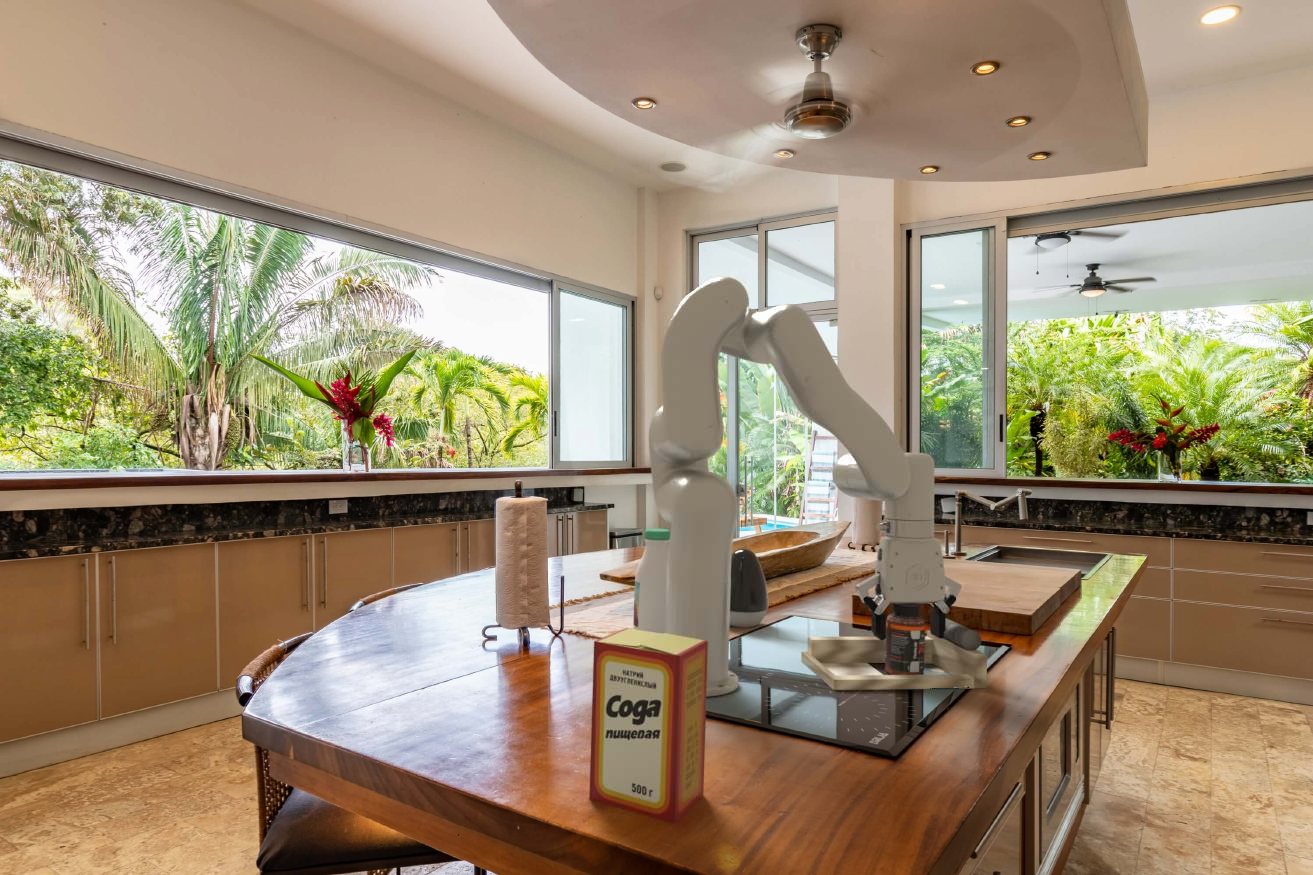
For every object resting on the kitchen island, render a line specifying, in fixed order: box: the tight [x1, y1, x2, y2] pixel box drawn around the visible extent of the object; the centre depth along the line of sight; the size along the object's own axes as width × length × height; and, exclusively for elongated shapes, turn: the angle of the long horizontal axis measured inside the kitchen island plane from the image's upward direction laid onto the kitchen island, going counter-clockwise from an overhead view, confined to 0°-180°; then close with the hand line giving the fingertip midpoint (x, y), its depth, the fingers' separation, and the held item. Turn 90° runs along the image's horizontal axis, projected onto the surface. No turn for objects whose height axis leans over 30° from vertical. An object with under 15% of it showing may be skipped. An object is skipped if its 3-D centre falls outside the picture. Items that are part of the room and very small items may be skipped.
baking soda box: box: [588, 627, 708, 824], centre depth 76 cm, size 10×6×16 cm
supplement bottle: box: [884, 603, 926, 675], centre depth 121 cm, size 6×6×11 cm
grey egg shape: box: [729, 547, 769, 629], centre depth 152 cm, size 10×10×15 cm
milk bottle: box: [632, 528, 671, 634], centre depth 137 cm, size 8×8×20 cm
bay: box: [800, 618, 988, 691], centre depth 121 cm, size 24×15×8 cm, turn 97°
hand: (908, 637), depth 121 cm, fingers open, 9 cm apart
